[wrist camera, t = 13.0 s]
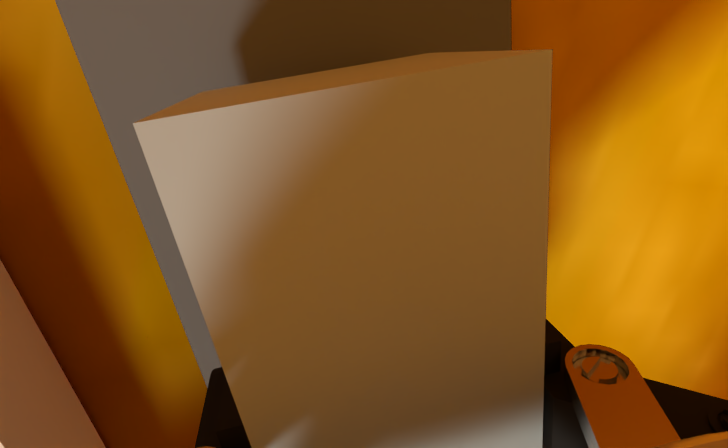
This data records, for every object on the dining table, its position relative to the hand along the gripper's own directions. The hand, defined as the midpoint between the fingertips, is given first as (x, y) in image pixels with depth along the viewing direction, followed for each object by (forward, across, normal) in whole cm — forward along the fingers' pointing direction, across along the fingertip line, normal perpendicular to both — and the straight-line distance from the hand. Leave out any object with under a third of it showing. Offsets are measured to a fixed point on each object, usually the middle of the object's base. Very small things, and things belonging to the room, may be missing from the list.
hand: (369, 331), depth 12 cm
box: (+1, 0, -1) cm, 1 cm away
